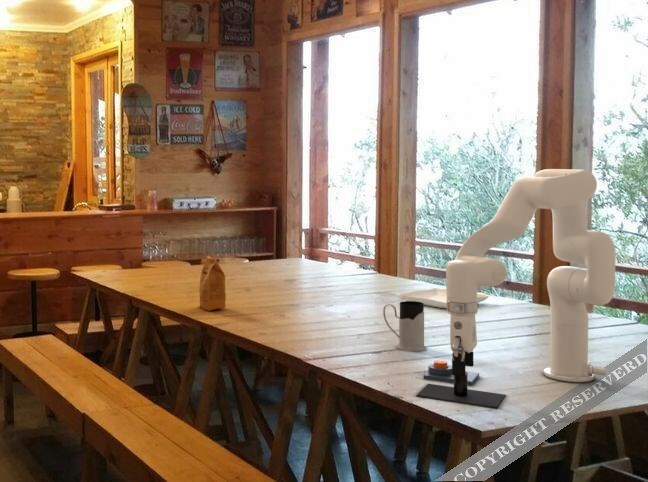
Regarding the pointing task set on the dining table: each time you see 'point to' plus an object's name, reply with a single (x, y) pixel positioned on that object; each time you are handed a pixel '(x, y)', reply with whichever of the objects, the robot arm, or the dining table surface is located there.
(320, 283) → the dining table surface
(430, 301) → the square plate
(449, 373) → the grey button base
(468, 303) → the robot arm
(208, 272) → the coffee package
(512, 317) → the dining table surface
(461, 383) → the battery
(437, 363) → the button
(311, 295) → the dining table surface
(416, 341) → the glass holder
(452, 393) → the desk pad
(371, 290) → the dining table surface
